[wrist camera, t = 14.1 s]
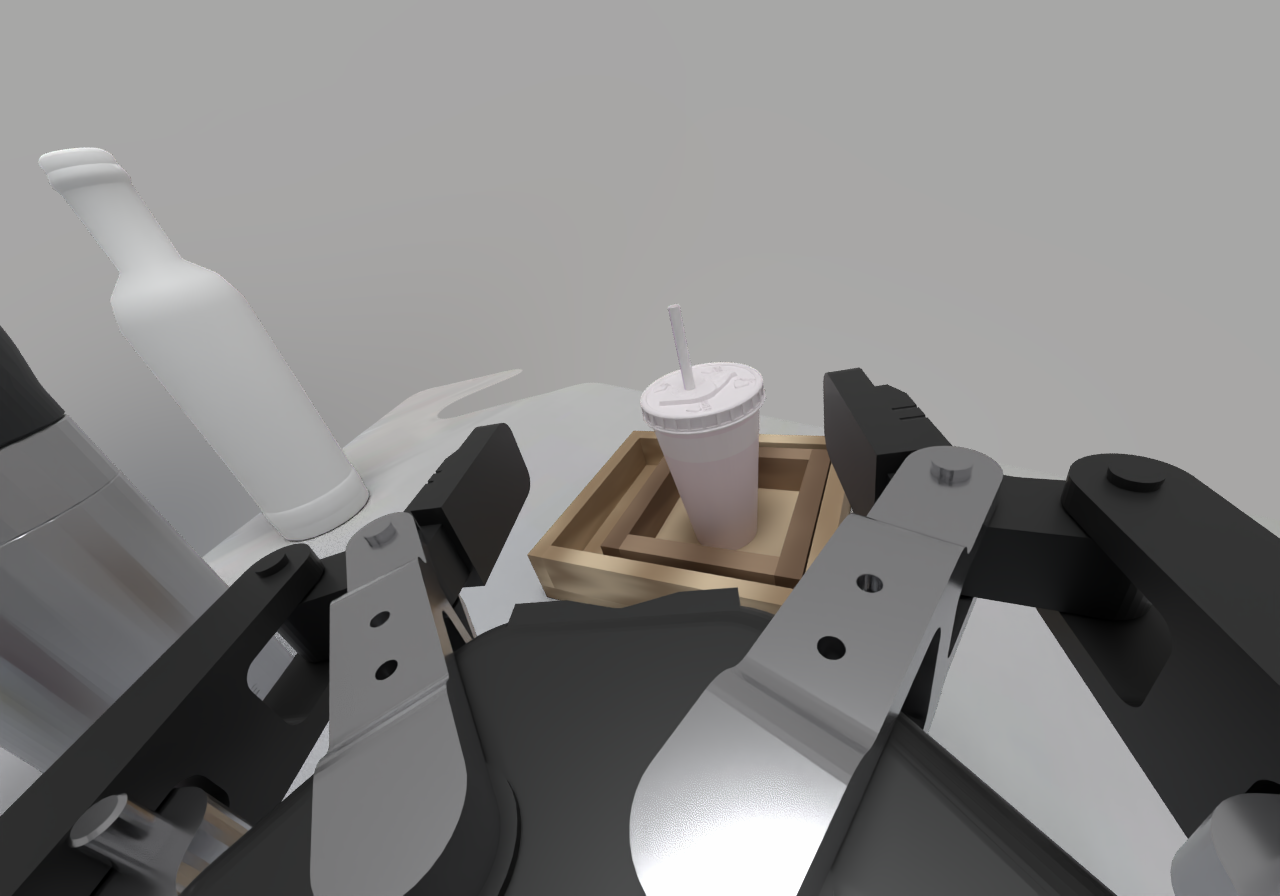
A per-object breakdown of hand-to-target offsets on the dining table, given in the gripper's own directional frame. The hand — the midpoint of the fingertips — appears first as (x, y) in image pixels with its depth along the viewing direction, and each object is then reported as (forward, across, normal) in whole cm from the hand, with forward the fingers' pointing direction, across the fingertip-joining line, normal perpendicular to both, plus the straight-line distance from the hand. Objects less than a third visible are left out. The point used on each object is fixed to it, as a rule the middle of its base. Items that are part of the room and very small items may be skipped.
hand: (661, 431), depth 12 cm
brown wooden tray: (+12, +1, +15) cm, 19 cm away
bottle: (+21, +37, +16) cm, 45 cm away
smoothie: (+12, -1, +14) cm, 18 cm away
